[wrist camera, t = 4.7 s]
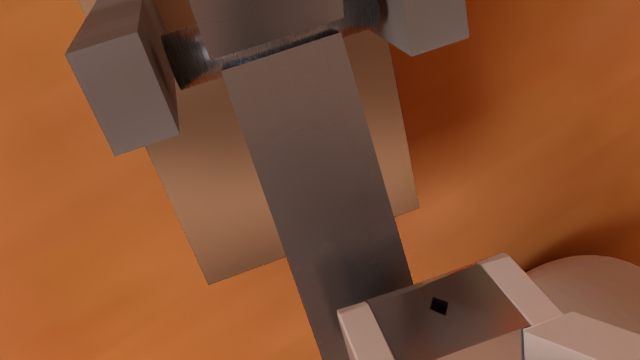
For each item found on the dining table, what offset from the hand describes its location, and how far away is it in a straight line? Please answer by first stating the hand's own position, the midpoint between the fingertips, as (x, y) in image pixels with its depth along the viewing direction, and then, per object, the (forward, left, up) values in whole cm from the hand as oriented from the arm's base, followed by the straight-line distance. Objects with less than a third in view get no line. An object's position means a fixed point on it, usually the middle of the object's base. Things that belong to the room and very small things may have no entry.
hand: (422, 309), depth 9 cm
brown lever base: (+9, +1, -11) cm, 14 cm away
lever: (+5, +1, -3) cm, 6 cm away
